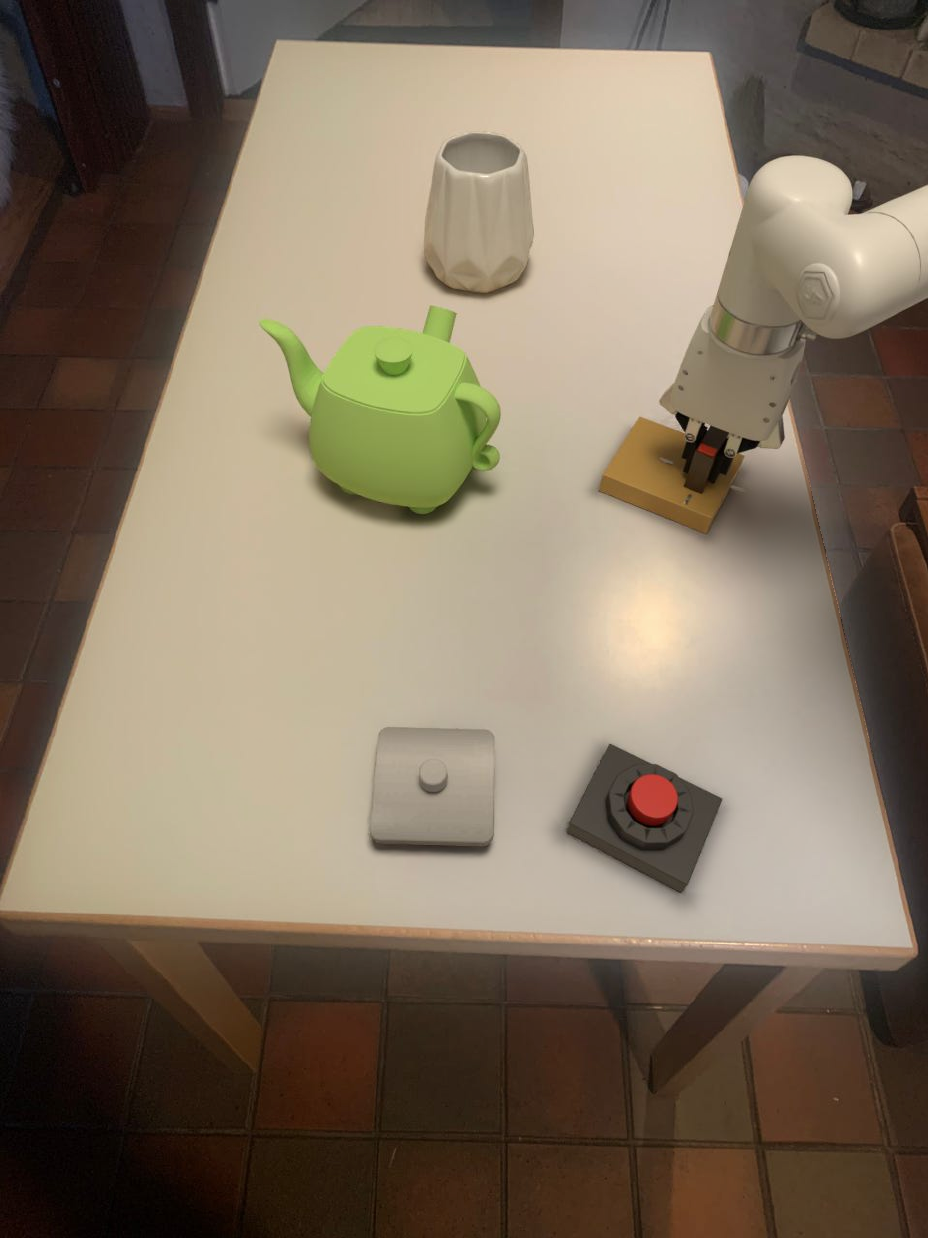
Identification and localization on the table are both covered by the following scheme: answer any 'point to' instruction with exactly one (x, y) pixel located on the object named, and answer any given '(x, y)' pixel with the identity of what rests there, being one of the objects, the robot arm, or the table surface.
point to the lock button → (652, 799)
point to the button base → (632, 842)
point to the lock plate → (664, 477)
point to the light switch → (433, 787)
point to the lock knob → (705, 459)
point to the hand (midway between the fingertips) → (703, 468)
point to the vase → (479, 212)
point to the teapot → (395, 412)
